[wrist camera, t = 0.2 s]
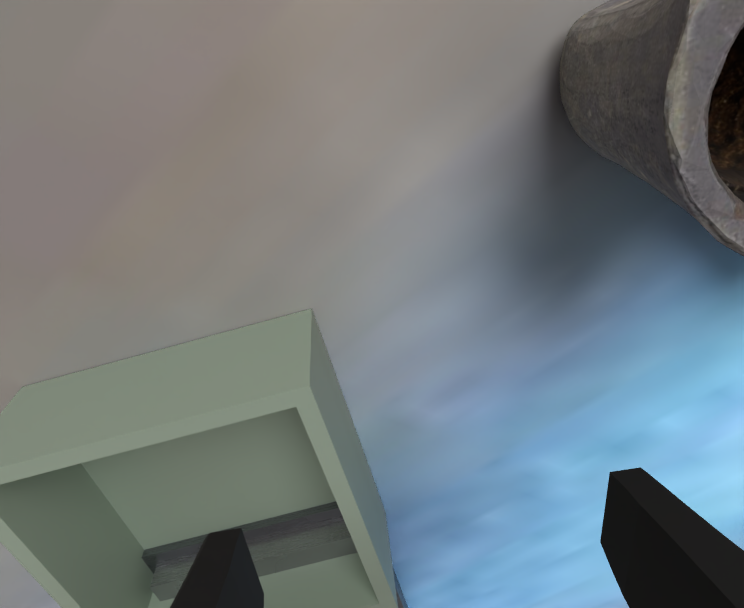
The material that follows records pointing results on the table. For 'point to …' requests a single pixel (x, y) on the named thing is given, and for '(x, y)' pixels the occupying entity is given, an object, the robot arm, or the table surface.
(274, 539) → the socket block
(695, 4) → the pipe
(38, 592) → the table surface
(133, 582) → the bin
